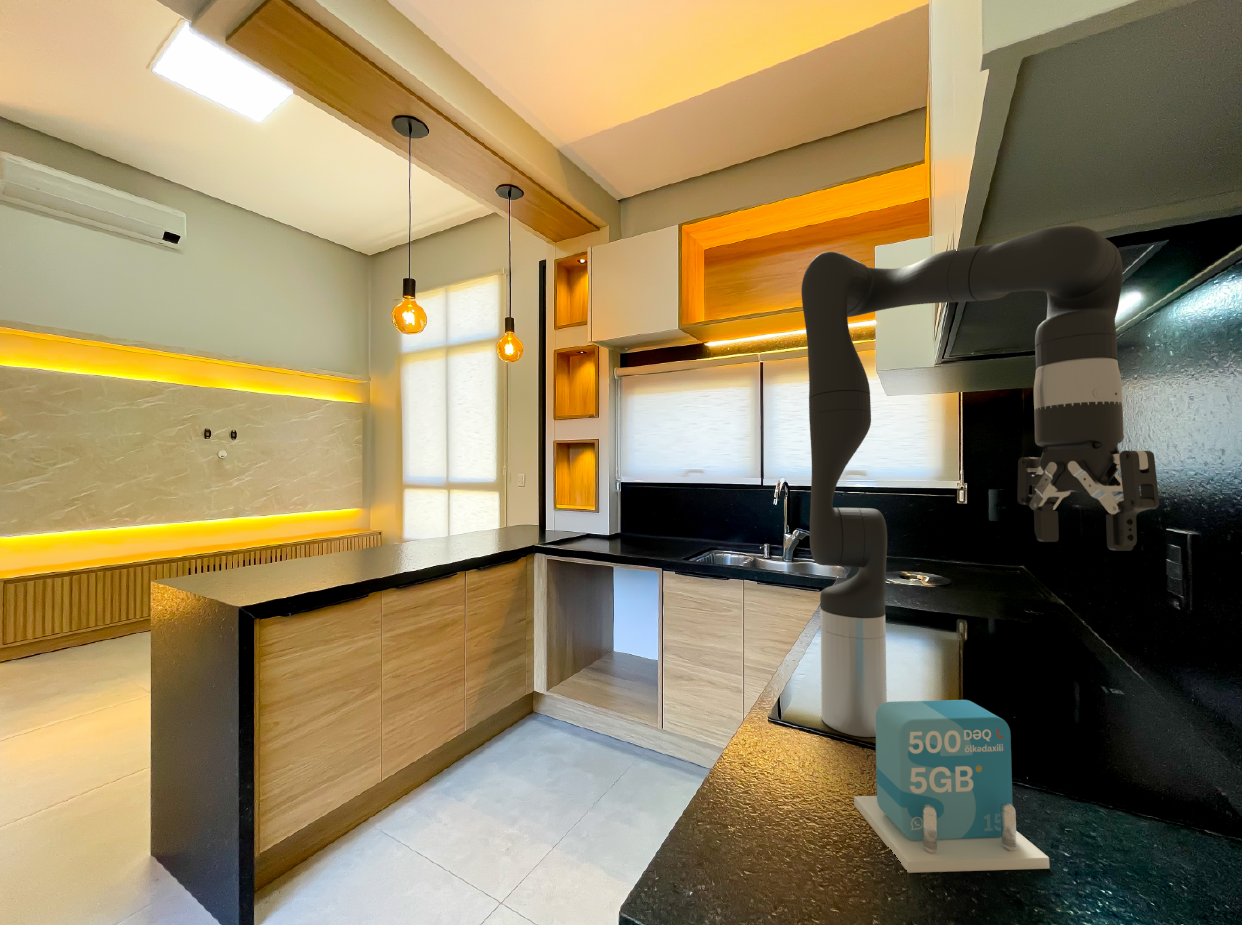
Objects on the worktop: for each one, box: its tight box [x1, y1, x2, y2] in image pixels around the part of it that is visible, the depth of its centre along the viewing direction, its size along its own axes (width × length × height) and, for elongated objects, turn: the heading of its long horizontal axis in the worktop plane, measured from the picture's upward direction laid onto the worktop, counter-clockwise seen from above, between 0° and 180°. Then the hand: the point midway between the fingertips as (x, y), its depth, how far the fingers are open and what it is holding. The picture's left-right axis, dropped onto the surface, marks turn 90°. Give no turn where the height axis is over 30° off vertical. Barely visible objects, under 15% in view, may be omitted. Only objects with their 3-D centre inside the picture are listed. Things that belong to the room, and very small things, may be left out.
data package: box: [875, 699, 1014, 841], centre depth 53 cm, size 12×4×12 cm, turn 94°
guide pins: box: [922, 802, 1017, 853], centre depth 53 cm, size 9×9×4 cm
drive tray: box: [853, 795, 1050, 874], centre depth 53 cm, size 10×14×1 cm
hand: (1081, 545), depth 57 cm, fingers open, 8 cm apart
